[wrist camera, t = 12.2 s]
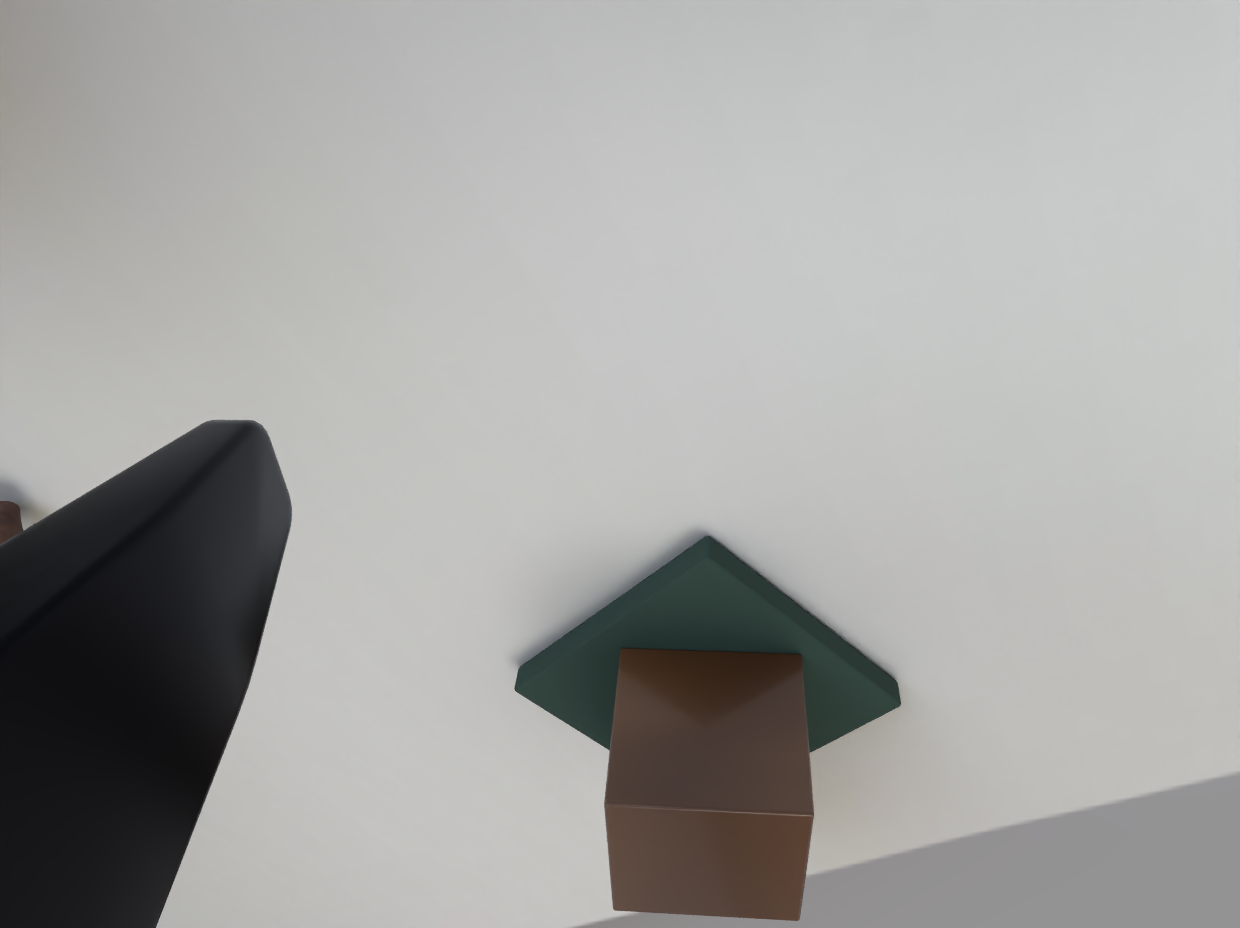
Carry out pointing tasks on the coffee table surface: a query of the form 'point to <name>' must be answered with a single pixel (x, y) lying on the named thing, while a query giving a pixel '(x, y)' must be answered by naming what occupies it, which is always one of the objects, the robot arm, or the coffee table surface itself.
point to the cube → (709, 784)
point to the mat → (705, 646)
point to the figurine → (9, 521)
